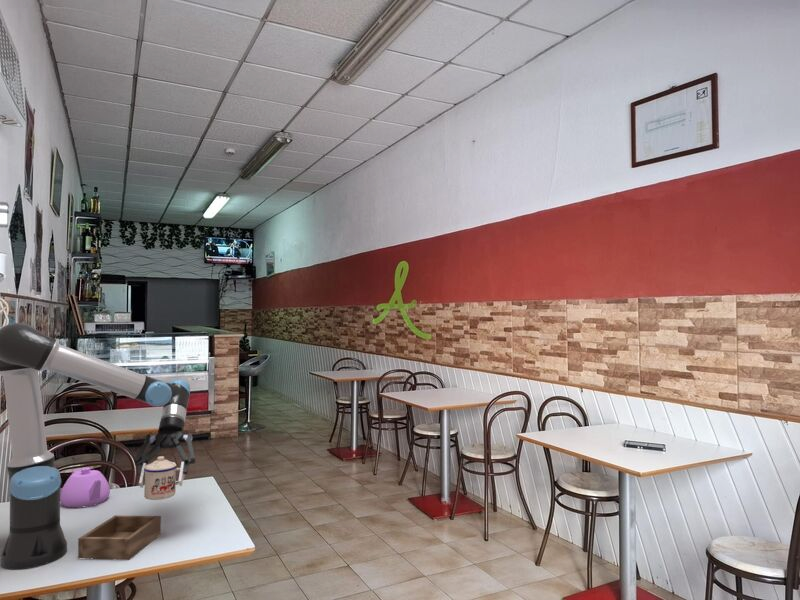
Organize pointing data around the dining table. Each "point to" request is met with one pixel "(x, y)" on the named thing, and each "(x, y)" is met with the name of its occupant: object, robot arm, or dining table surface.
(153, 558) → the dining table surface
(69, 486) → the teapot
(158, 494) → the teacup with lid
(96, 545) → the walnut crate
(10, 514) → the robot arm
